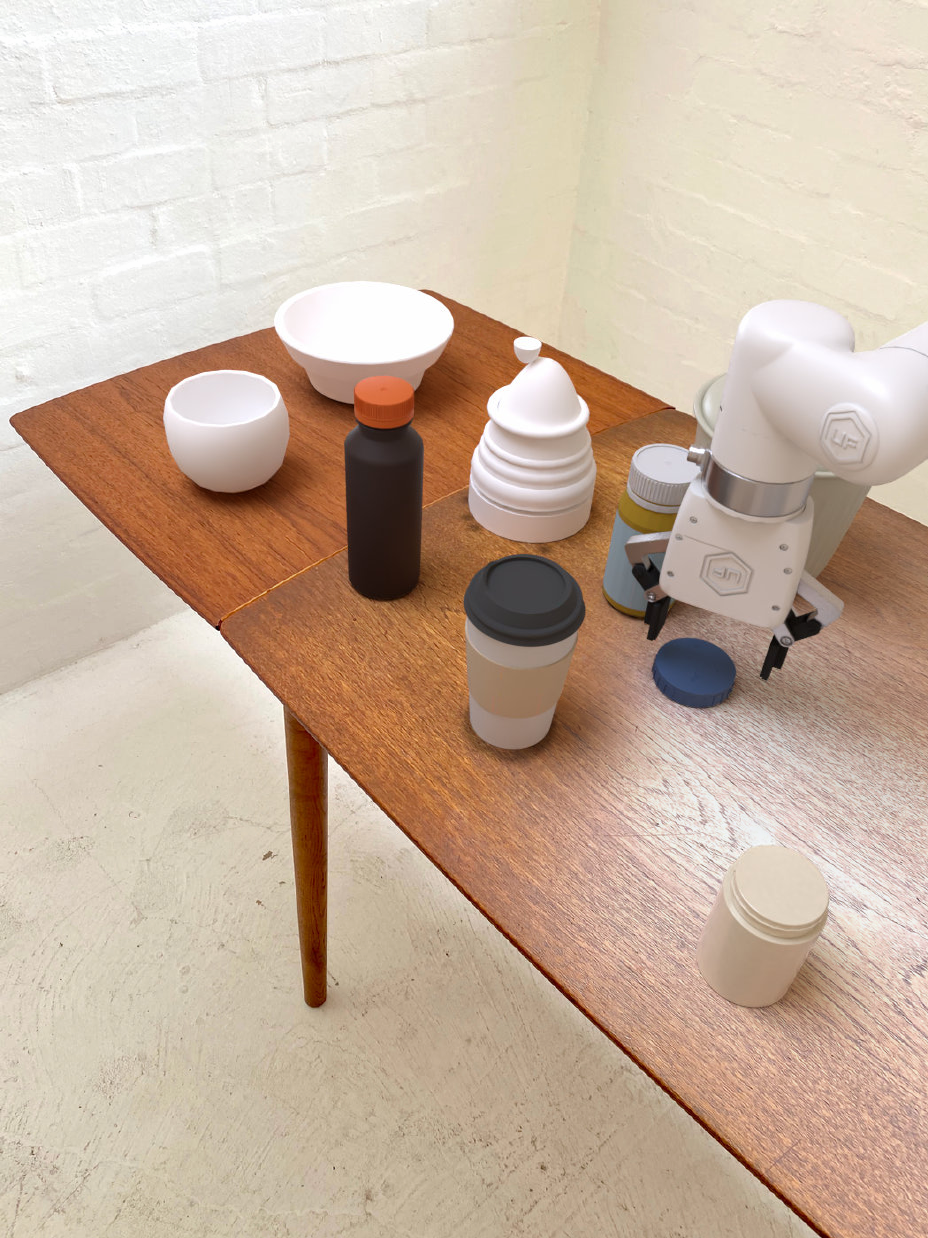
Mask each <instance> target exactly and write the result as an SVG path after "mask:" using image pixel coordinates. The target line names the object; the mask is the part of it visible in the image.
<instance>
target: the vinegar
mask: <svg viewBox="0 0 928 1238" xmlns="http://www.w3.org/2000/svg"><path fill="white" fill-rule="evenodd" d="M354 388H355V389H354V404H353V405H354V406H353V407H354V409H353V411H354V417H355V419H354V420H355V422H356V423H357V425H356V426H355V427H354V428H352V429H351V430H350V431H349V432H348V433H347V435H346V438H345V439H344V442H343V449H344V451H343V452H344V453H343V454H344V482H345V483H344V484H345V509H346V510H345V511H346V513H345V514H346V539H347V540H346V541H347V542H346V543H347V571H348V572H347V573H348V580H349V582H350V584H351V587H353V589H354V590H355V591H357V592H358V593H359V594H361V595H362V596H366V597H368V598H371V599H376V600H393V599H397V598H400V597H403V596H405V595H407V594H409V593H411V592H412V591H413V590H414V589H415V588H416V587H417V586H418V583H419V580H420V577H421V564H422V563H421V562H422V561H421V559H422V557H421V556H422V529H423V525H422V524H423V498H424V497H423V496H424V495H423V494H424V493H423V492H424V466H425V465H424V462H425V460H424V459H425V445H424V440H423V437H422V436H421V434H419V433H418V431H417V430H416V429H415V428H414V427H413V426H411V425H412V423H413V421H414V415H415V391H414V389H413V387H412V386H411V385H410V384H409V383H408V382H406V381H405V380H403V379H400V378H397V377H392V376H374V377H369V378H366V379H364V380H362V381H360V382H359V383H358V384H357V385H356V386H355V387H354Z"/></svg>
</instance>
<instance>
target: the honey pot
mask: <svg viewBox="0 0 928 1238" xmlns="http://www.w3.org/2000/svg"><path fill="white" fill-rule="evenodd" d="M541 349H542V342H541V341H540V340H539V339H538V338H536V337H531V336H521V337H518V338H515V339H514V341H513V350H514V351H513V352H514V354H515V356H516V358H517V359H518V361H520V362H521V363H523V364H526V365H525V367H523V368H522V369H521V370H520V372H519V373H518V374H517V375H516V376H515V378H514V379H513V380H512V381H511V383H510V384H508V385H505V386H502V387H501V388H499V389H497V390H494V391H495V392H493V394H492V395H490V397H489V398H488V400H487V403H486V404H487V405H486V410H487V415H488V417H489V420H488V422H486V424H485V426H484V430H483V433H482V435H481V436H480V439H479V443H478V444H477V445H476V447H475V448H474V450H473V454H472V456H471V461H470V465H471V466H470V471H469V472H470V474H469V485H468V501H467V502H468V508H469V512H470V514H471V516H473V517H472V518H473V519H474V520H475V521H476V522H477V523H478V524H479V525H480V526H482V527H483V528H484V529H485V530H487V531H489V532H490V533H493V534H495V535H496V536H499V537H502V538H505V539H507V540H511V541H514V542H521V543H528V544H539V543H540V544H541V543H542V544H543V543H544V544H545V543H551V542H557V541H561V540H565V539H567V538H570V537H572V536H573V535H575V534H577V533H578V532H579V531H580V530H582V529H583V528H584V527H585V526H586V524H587V522H588V521H589V519H590V515H591V511H592V510H591V509H592V503H593V498H594V490H595V485H596V481H597V480H596V479H597V473H598V470H597V469H598V468H597V464H596V460H595V457H594V449H593V447H592V437H591V434H590V431H589V429H588V427H587V424H588V422H589V421H590V408H589V406H588V403H587V402H586V401H585V400H584V398H582V396H580V395H579V394H578V393H577V391H576V388H575V386H574V384H573V383H574V382H573V381H572V379H571V377H570V375H569V374H568V372H567V371H566V369H565V368H564V367H563V366H562V365H561V364H560V363H559V362H558V361H556V360H554V359H552V358H551V357H543V356H539V355H540V352H541Z"/></svg>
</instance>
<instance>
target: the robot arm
mask: <svg viewBox="0 0 928 1238" xmlns="http://www.w3.org/2000/svg"><path fill="white" fill-rule="evenodd" d="M855 349H856V335H855V331H854V329H853V326H852V324H851V322H850V321H849V320H848V319H847V318H846V317H845V316H844V315H842V314H841V313H840V312H838V311H837V310H835V309H833V308H830V307H828V306H825V305H823V304H820V303H817V302H812V301H807V300H801V299H785V298H784V299H773V300H767V301H764V302H762V303H759V304H757V305H755V306H753V307H752V308H750V309H749V310H748V311H746V313H745V314H744V316H743V318H742V319H741V320H740V322H739V324H738V327H737V330H736V334H735V338H734V341H733V346H732V350H731V354H730V357H729V359H730V360H729V363H728V368H727V371H726V373H727V376H726V380H725V385H724V389H723V393H722V398H721V402H720V406H719V411H718V415H717V420H716V424H715V429H714V433H713V438H712V442H709V444H708V445H702V446H700V445H696V444H695V443H691V445H690V447H689V448H688V450H689V452H688V456H687V461H689V462H692V463H696V466H700V471H701V472H700V473H699V474H698V475H697V476H696V477H695V478H694V479H693V480H692V482H691V484H690V485H689V487H688V489H687V492H686V494H685V496H684V498H683V501H682V503H681V506H680V508H679V511H678V514H677V517H676V520H675V523H674V526H673V530H672V531H668V532H659V533H651V534H642V535H634V536H631V537H630V538H629V540H628V541H627V543H626V544H625V546H624V548H625V552H626V554H627V557H628V560H629V563H630V564H631V566H632V568H633V569H632V574H633V576H634V577H635V578H636V580H637V581H638V583H639V584H640V585H641V587H642V588H643V589H644V591H645V593H644V597H645V599H646V600H647V601H648V602H647V607H646V612H645V617H643V624H644V625H648V630H647V633H646V634H647V635H646V640H648V641H650V642H654V641H657V638H658V636H659V635H660V633H661V631H662V629H663V627H664V626H665V623H666V622H667V618H668V613H669V610H670V609H669V605H670V600H671V597H672V598H674V599H676V600H675V601H678V602H680V603H683V604H686V605H690V606H692V607H696V608H699V609H701V610H704V611H707V612H710V613H714V614H716V615H720V616H723V617H726V618H729V619H732V620H736V621H738V622H740V623H741V622H742V623H744V624H747V625H750V626H754V627H757V628H761V629H762V628H763V629H770V630H771V631H772V633H773V635H772V638H771V640H770V643H769V645H768V648H767V651H766V655H765V656H764V657H765V658H764V661H763V664H762V666H761V670H760V673H759V675H758V677H759V678H760V679H761V680H763V681H766V682H768V681H769V678H770V676H771V673H772V671H773V669H777V670H779V671H782V669H783V666H784V664H785V661H786V658H787V655H788V652H789V649H790V648H791V647H793V646H794V644H795V642H796V643H797V642H799V641H802V640H805V639H809V638H811V637H814V636H818V635H819V634H820V632H821V631H822V630H823V629H824V628H827V627H828V626H830V625H831V624H833V623H835V621H837V620H838V619H840V617H842V614H843V611H844V608H845V603H844V601H843V600H842V599H840V598H839V597H838V596H837V595H836V594H834V593H833V592H832V591H831V590H829V589H828V588H827V587H826V586H825V585H823V584H822V583H821V582H820V581H819V580H817V578H814V577H812V576H811V575H810V574H809V573H808V572H806V571H805V570H804V567H805V563H806V558H807V554H808V550H809V545H810V539H811V534H812V527H813V517H814V501H813V499H812V497H811V496H810V495H809V492H810V489H811V486H812V483H813V480H814V476H815V473H816V470H817V466H818V463H819V464H820V465H822V466H823V467H824V468H826V469H827V470H829V471H830V472H831V473H833V474H835V475H836V476H838V477H840V478H842V479H844V480H846V481H849V482H851V483H854V484H858V485H863V486H872V487H877V486H882V485H886V484H891V483H892V482H895V481H897V480H899V479H900V478H903V477H904V476H906V475H907V474H908V473H910V472H911V471H913V470H915V469H916V468H917V467H919V466H920V465H921V464H923V463H924V462H925V461H927V460H928V320H925V322H923V323H921V324H920V325H918V326H916V327H914V328H912V329H911V330H908V331H907V332H905V333H903V334H900V335H899V336H896V337H894V338H893V339H891V340H889V341H888V342H886V343H884V344H883V345H880V346H879V347H877V348H874V349H871V350H865V351H856V352H855ZM664 552H666V554H665V558H664V561H663V565H662V569H661V571H660V572H659V570H658V569H657V567H656V566H655V565H654V563H653V562H652V560H651V559H650V558H649V557H648V554H654V553H664ZM797 595H799V596H800V597H801V598H803V599H804V600H805V601H806V602H808V603H809V604H810V605H811V606H812V607H813V608H815V610H811V611H810V612H806V613H803V614H801V615H800V614H799V613H798V611H797V609H796V607H795V606H794V601H795V598H796V596H797ZM668 609H669V610H668Z"/></svg>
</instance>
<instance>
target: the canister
mask: <svg viewBox="0 0 928 1238" xmlns="http://www.w3.org/2000/svg"><path fill="white" fill-rule="evenodd" d="M726 376H727V372H724V373H721V374H719V375H716V376H714V377H712V378H710V379H709V380H707V381H706V382H704V384H702V385H701V386H700V387H699V388H698V390H697V392H696V393H695V395H694V399H693V404H692V408H693V414H694V418H695V420H696V422H697V425H696V432H695V438H694V439H695V440H694V444H696V445H700V446H702V445H708V444H709V442H712V438H713V433H714V429H715V424H716V420H717V415H718V411H719V406H720V402H721V398H722V393H723V389H724V385H725V380H726ZM872 487H873V486H863V485H858V484H854V483H851V482H849V481H846V480H844V479H842V478H840V477H838V476H836V475H835V474H833V473H831V472H830V471H829V470H827V469H826V468H824V467H823V466H822V465H820V464H819V463H818V466H817V470H816V473H815V476H814V480H813V483H812V486H811V489H810V492H809V495H810V496H811V497H812V499H813V501H814V517H813V527H812V534H811V539H810V545H809V550H808V554H807V558H806V563H805V567H804V570H805V571H806V572H808V573H809V574H810V575H811V576H812V577H814V578H815V579H817V578H818V576H820V574H821V573H822V572H823V571H824V569H825V568H826V567H827V565H828V564H829V563H830V561H831V559H832V557H833V556H834V554H835V552H836V551H837V549H838V547H839V546H840V545H841V542H842V540H843V539H844V537H845V535H846V534H847V532H848V530H849V529H850V527H851V525H852V523H853V522H854V520H855V518H856V516H857V515H858V512H859V510H860V509H861V507H862V505H863V503H864V501H865V500H866V498H867V496H868V494H869V492H870V491H871V489H872Z"/></svg>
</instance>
